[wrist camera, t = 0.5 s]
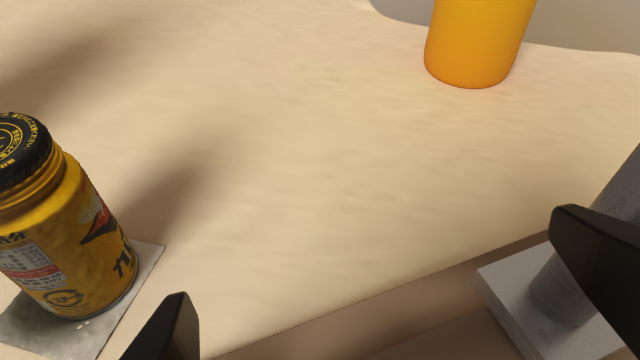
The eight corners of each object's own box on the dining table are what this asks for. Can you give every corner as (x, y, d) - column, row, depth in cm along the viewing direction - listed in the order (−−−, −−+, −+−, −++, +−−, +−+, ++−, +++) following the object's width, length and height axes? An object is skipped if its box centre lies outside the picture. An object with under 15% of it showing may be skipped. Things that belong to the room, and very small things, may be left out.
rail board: (698, 363, 22) (770, 328, 19) (224, 628, 16) (194, 654, 12) (563, 229, 28) (597, 183, 25) (186, 377, 22) (159, 344, 18)
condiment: (166, 247, 28) (92, 110, 19) (90, 370, 22) (-64, 257, 14) (78, 226, 29) (-29, 90, 20) (-15, 338, 24) (-217, 216, 15)
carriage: (638, 340, 20) (859, 196, 12) (546, 387, 19) (725, 262, 10) (551, 248, 24) (673, 90, 16) (469, 281, 23) (554, 127, 14)
